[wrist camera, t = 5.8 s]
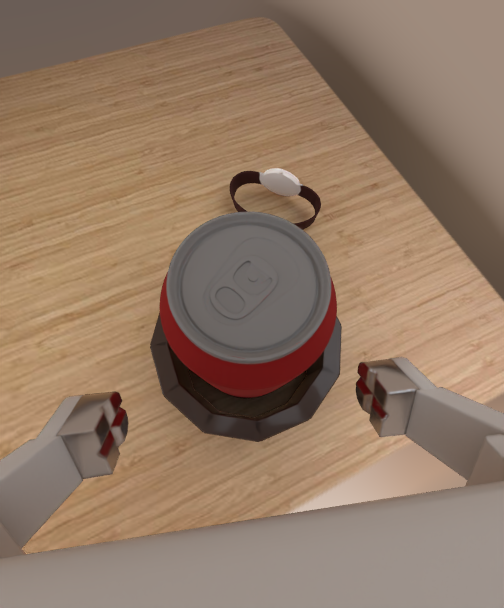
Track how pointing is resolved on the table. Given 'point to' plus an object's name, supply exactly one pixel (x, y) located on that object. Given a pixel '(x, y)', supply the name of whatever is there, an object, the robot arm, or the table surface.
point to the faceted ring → (239, 426)
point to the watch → (277, 188)
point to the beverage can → (248, 303)
